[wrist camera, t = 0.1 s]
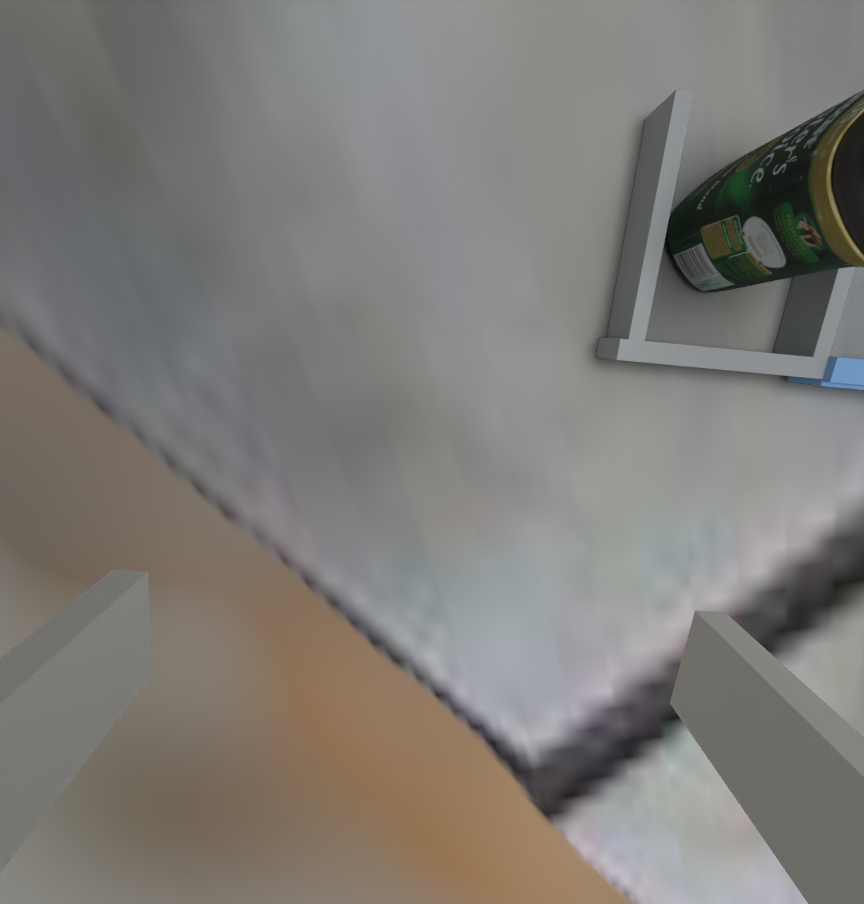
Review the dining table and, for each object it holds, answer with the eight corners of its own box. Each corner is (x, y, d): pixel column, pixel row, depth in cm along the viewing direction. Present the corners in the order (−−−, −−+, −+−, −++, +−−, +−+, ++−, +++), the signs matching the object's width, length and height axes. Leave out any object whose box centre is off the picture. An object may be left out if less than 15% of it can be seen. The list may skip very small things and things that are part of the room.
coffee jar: (755, 136, 34) (1139, -84, 16) (803, 229, 36) (1198, 124, 18) (644, 225, 35) (883, 112, 17) (695, 310, 37) (963, 289, 19)
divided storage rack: (637, 117, 33) (673, 82, 29) (1026, 165, 35) (1117, 140, 31) (594, 363, 38) (619, 367, 33) (943, 395, 39) (1012, 403, 35)
